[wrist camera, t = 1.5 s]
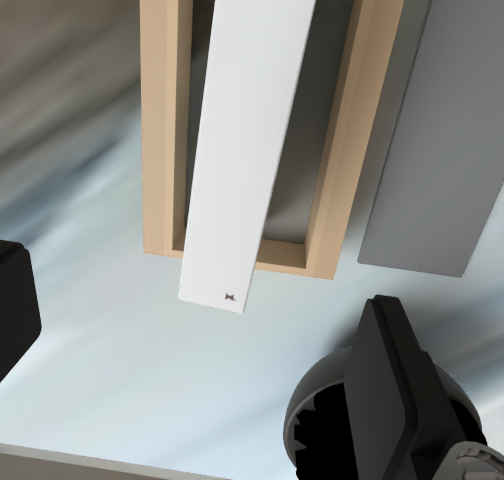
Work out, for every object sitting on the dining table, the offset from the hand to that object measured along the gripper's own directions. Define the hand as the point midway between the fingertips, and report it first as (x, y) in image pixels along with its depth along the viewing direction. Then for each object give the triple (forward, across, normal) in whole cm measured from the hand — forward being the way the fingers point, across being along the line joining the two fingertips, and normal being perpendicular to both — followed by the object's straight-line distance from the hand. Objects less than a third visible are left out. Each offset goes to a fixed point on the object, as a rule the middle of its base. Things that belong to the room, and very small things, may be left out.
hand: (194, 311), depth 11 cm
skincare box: (+29, 0, 0) cm, 29 cm away
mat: (+29, -18, 0) cm, 34 cm away
